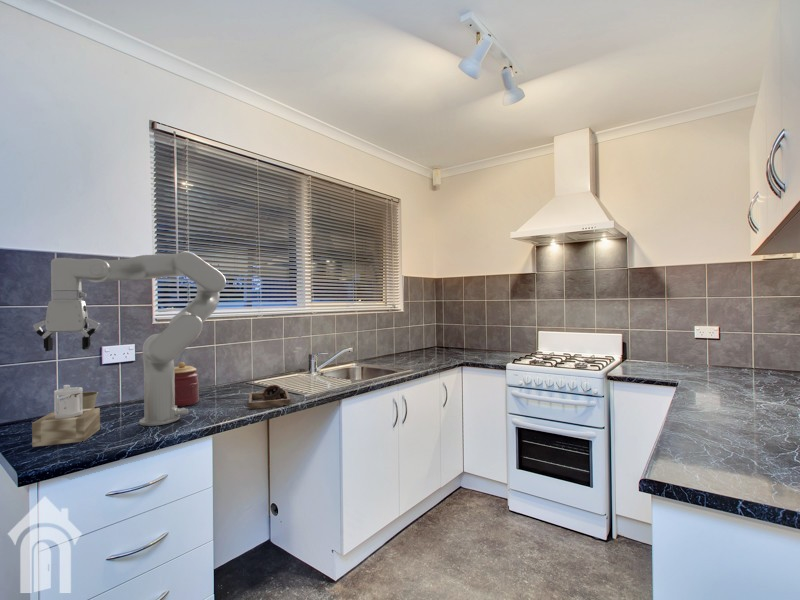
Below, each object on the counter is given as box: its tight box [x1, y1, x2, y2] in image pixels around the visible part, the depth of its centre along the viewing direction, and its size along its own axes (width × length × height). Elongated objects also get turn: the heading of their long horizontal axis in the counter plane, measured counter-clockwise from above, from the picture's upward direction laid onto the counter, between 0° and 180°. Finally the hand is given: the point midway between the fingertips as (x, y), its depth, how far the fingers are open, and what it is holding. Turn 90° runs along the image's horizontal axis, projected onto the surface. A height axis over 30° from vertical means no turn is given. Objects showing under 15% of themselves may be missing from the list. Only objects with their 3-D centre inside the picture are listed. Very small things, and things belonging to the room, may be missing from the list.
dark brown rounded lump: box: [262, 384, 286, 401], centre depth 172 cm, size 12×10×8 cm
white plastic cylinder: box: [53, 384, 83, 419], centre depth 129 cm, size 7×7×15 cm
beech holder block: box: [31, 407, 101, 448], centre depth 129 cm, size 13×13×7 cm
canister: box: [174, 361, 200, 408], centre depth 171 cm, size 13×13×18 cm
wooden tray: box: [248, 389, 291, 410], centre depth 171 cm, size 16×18×2 cm
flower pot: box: [66, 391, 99, 409], centre depth 152 cm, size 9×9×9 cm
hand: (67, 349), depth 129 cm, fingers open, 9 cm apart
